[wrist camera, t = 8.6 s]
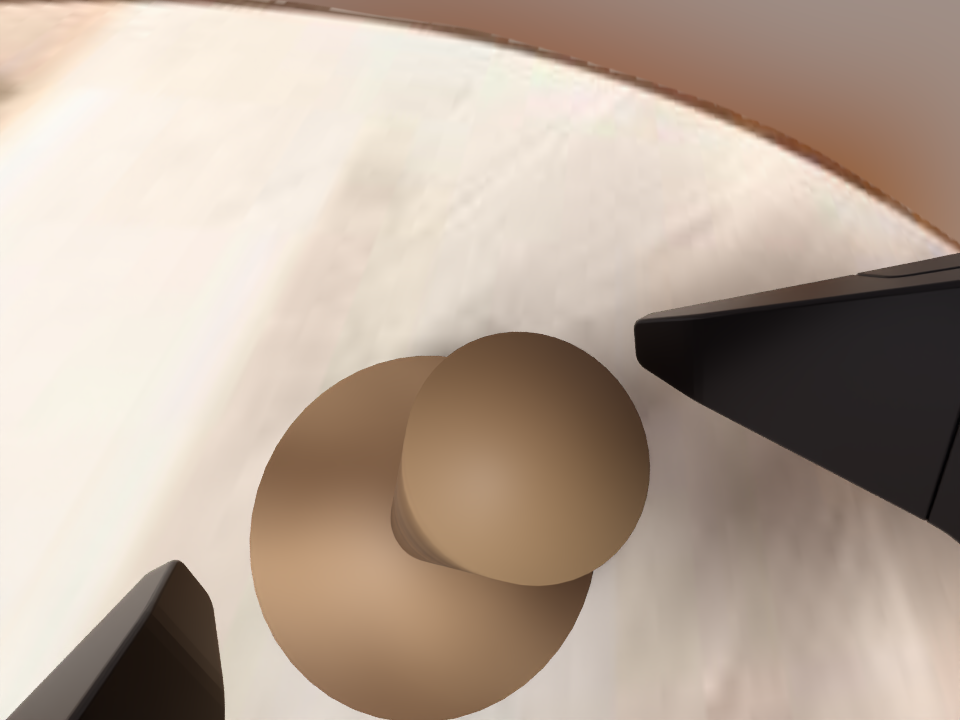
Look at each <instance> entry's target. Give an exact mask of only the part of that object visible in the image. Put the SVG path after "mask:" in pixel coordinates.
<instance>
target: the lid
mask: <svg viewBox="0 0 960 720" xmlns="http://www.w3.org/2000/svg"><path fill="white" fill-rule="evenodd" d="M649 474H650V462H649V450H648V445H647V440H646V435H645V431H644V428H643V425H642V422H641V419H640V417H639V415H638V413H637V410H636V408H635V406H634V404H633V402H632V401H631V399H630V397H629V396H628V394H627V392H626V391H625V389H624V388H623V387H622V386H621V384H620V383H619V382H618V380H617V379H616V378H615V377H614V376H613V375H612V374H611V373H610V372H609V370H608V369H607V368H606V367H604V366H603V365H602V364H601V363H600V362H598V361H597V360H596V359H595V358H594V357H592V356H591V355H589V354H588V353H586V352H585V351H583V350H582V349H580V348H578V347H576V346H574V345H572V344H570V343H568V342H565V341H563V340H560V339H557V338H555V337H551V336H547V335H543V334H537V333H529V332H507V333H499V334H494V335H490V336H486V337H482V338H480V339H477V340H475V341H472V342H470V343H468V344H466V345H464V346H463V347H461V348H459V349H457V350H456V351H454V352H453V353H452V354H450V355H449V356H448V357H442V356H415V357H407V358H399V359H395V360H391V361H387V362H383V363H379V364H376V365H373V366H371V367H368V368H366V369H363V370H360V371H358V372H356V373H354V374H352V375H351V376H349V377H347V378H345V379H343V380H341V381H339V382H338V383H337V384H335V385H334V386H332V387H331V388H329V389H328V390H326V391H325V392H324V393H322V394H321V395H320V396H319V397H318V398H317V399H315V400H314V401H313V402H312V403H311V404H310V405H309V406H308V407H307V408H305V410H304V411H303V412H302V413H301V414H300V415H299V416H298V418H297V419H296V420H295V421H294V422H293V423H292V424H291V426H290V427H289V428H288V430H287V431H286V433H285V434H284V436H283V437H282V439H281V440H280V442H279V443H278V445H277V446H276V448H275V450H274V452H273V454H272V456H271V458H270V460H269V462H268V464H267V466H266V468H265V471H264V474H263V476H262V479H261V482H260V485H259V487H258V490H257V495H256V499H255V504H254V508H253V513H252V521H251V532H250V558H251V570H252V575H253V581H254V586H255V592H256V595H257V598H258V601H259V604H260V607H261V610H262V613H263V616H264V618H265V620H266V622H267V624H268V626H269V628H270V630H271V632H272V634H273V636H274V638H275V640H276V642H277V643H278V645H279V646H280V647H281V649H282V650H283V652H284V653H285V654H286V656H287V657H288V659H289V660H290V662H291V663H292V664H293V665H294V666H295V667H296V668H297V669H298V670H299V671H300V672H301V673H302V674H303V675H304V676H305V677H306V678H307V679H308V680H309V681H310V682H311V683H312V684H314V685H315V686H316V687H318V688H319V689H320V690H322V691H323V692H324V693H326V694H327V695H328V696H330V697H331V698H333V699H335V700H337V701H339V702H341V703H342V704H344V705H346V706H348V707H350V708H352V709H354V710H357V711H360V712H363V713H366V714H369V715H372V716H375V717H378V718H383V719H389V720H448V719H454V718H458V717H461V716H464V715H468V714H471V713H474V712H477V711H480V710H482V709H484V708H487V707H489V706H491V705H493V704H495V703H497V702H499V701H501V700H503V699H505V698H506V697H507V696H509V695H510V694H512V693H513V692H515V691H516V690H518V689H519V688H521V687H522V686H524V685H525V684H526V683H527V682H528V681H529V680H530V679H532V678H533V677H534V676H535V675H536V674H537V673H538V672H539V671H540V670H541V669H543V668H544V666H545V665H546V664H547V663H548V662H549V660H550V659H551V658H552V657H553V656H554V655H555V653H556V652H557V651H558V650H559V649H560V647H561V645H562V644H563V642H564V641H565V639H566V638H567V636H568V634H569V633H570V631H571V630H572V628H573V626H574V624H575V622H576V620H577V618H578V616H579V614H580V611H581V609H582V607H583V605H584V602H585V599H586V596H587V593H588V590H589V587H590V584H591V579H592V574H593V570H595V569H596V568H598V567H600V566H601V565H603V564H604V563H605V562H606V561H608V560H609V559H610V558H611V557H612V556H613V555H615V554H616V553H617V551H618V550H619V549H620V548H621V547H622V546H623V544H624V543H625V542H626V541H627V539H628V538H629V536H630V535H631V533H632V532H633V530H634V528H635V527H636V524H637V522H638V520H639V518H640V516H641V514H642V511H643V507H644V504H645V501H646V498H647V492H648V486H649Z"/></svg>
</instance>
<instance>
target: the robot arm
mask: <svg viewBox="0 0 960 720" xmlns="http://www.w3.org/2000/svg"><path fill="white" fill-rule="evenodd" d="M634 337H635V349H636V357H637V360H638V362H639V363H640V364H641V366H642V367H644V368H645V369H646V370H648V371H650V372H651V373H653V374H654V375H656V376H657V377H659V378H660V379H662V380H663V381H665V382H666V383H668V384H669V385H671V386H673V387H674V388H676V389H677V390H679V391H680V392H682V393H683V394H685V395H686V396H688V397H690V398H691V399H693V400H695V401H696V402H698V403H700V404H702V405H704V406H706V407H707V408H709V409H711V410H713V411H715V412H717V413H719V414H721V415H723V416H725V417H727V418H729V419H730V420H732V421H734V422H736V423H738V424H740V425H742V426H744V427H746V428H748V429H750V430H752V431H754V432H755V433H757V434H759V435H761V436H763V437H765V438H767V439H769V440H771V441H773V442H775V443H777V444H778V445H780V446H782V447H784V448H786V449H788V450H790V451H792V452H794V453H796V454H798V455H800V456H801V457H803V458H805V459H807V460H809V461H811V462H813V463H815V464H817V465H819V466H821V467H823V468H824V469H826V470H828V471H830V472H832V473H834V474H836V475H838V476H840V477H842V478H844V479H846V480H848V481H849V482H851V483H853V484H855V485H857V486H859V487H861V488H863V489H865V490H867V491H869V492H871V493H872V494H874V495H876V496H878V497H880V498H882V499H884V500H886V501H888V502H890V503H892V504H894V505H895V506H897V507H899V508H901V509H903V510H905V511H907V512H909V513H911V514H913V515H915V516H917V517H919V518H920V519H922V520H927V522H928V523H930V524H932V525H933V526H935V527H937V528H939V529H940V530H942V531H943V532H945V533H946V534H948V535H949V536H950V537H952V538H953V539H954V540H956V541H957V542H958V543H959V544H960V253H957V254H952V255H947V256H942V257H937V258H932V259H928V260H923V261H918V262H913V263H908V264H903V265H898V266H892V267H887V268H882V269H877V270H872V271H867V272H862V273H858V274H857V275H849V276H844V277H839V278H834V279H828V280H823V281H818V282H813V283H807V284H802V285H797V286H792V287H786V288H781V289H776V290H771V291H766V292H760V293H755V294H750V295H745V296H739V297H734V298H729V299H724V300H718V301H713V302H708V303H703V304H697V305H692V306H687V307H682V308H677V309H671V310H666V311H661V312H656V313H651V314H648V315H646V316H645V317H643V318H641V319H639V320H637V321H636V323H635V325H634ZM6 720H225V699H224V685H223V676H222V668H221V661H220V653H219V646H218V639H217V631H216V624H215V616H214V609H213V605H212V602H211V600H210V597H209V596H208V594H207V592H206V591H205V590H204V588H203V587H202V586H201V585H200V583H199V582H198V581H197V580H196V578H195V577H194V576H193V575H192V573H191V572H190V571H189V570H188V568H187V567H186V566H185V565H184V564H183V563H182V562H181V561H179V560H172V561H170V562H168V563H166V564H164V565H162V566H160V567H158V568H156V569H154V570H152V571H151V572H149V573H148V574H146V575H145V576H144V577H143V578H142V579H141V580H140V581H139V582H138V583H137V584H136V585H135V586H134V588H133V589H132V590H131V591H130V592H129V593H128V594H127V595H126V596H125V597H124V598H123V599H122V600H121V601H120V602H119V603H118V604H117V605H116V606H115V607H114V608H113V609H112V610H111V611H110V612H109V613H108V614H107V615H106V617H105V618H104V619H103V620H102V621H101V622H100V623H99V624H98V625H97V626H96V627H95V628H94V629H93V630H92V631H91V632H90V633H89V634H88V635H87V636H86V637H85V638H84V639H83V640H82V641H81V642H80V643H79V644H78V645H77V647H76V648H75V649H74V650H73V651H72V652H71V653H70V654H69V655H68V656H67V657H66V658H65V659H64V660H63V661H62V662H61V663H60V664H59V665H58V666H57V667H56V668H55V669H54V670H53V671H52V672H51V673H50V674H49V675H48V677H47V678H46V679H45V680H44V681H43V682H42V683H41V684H40V685H39V686H38V687H37V688H36V689H35V690H34V691H33V692H32V693H31V694H30V695H29V696H28V697H27V698H26V699H25V700H24V701H23V702H22V703H21V704H20V705H19V707H18V708H17V709H16V710H15V711H14V712H13V713H12V714H11V715H10V716H9V717H8V718H7V719H6Z"/></svg>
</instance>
